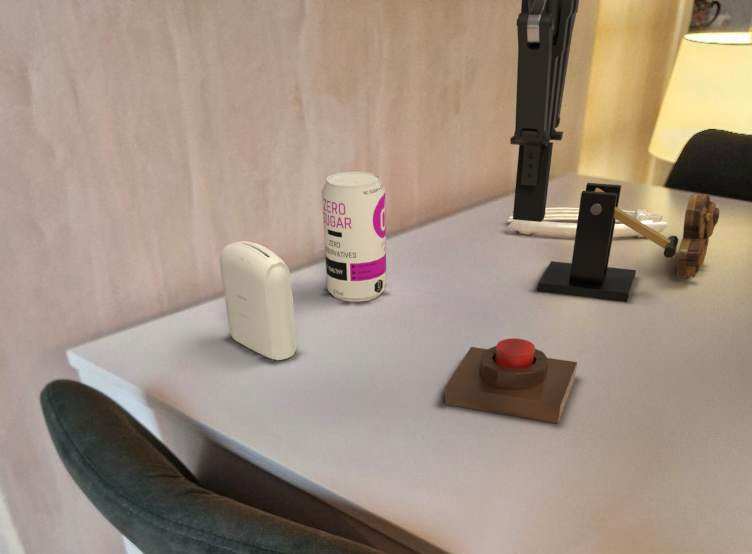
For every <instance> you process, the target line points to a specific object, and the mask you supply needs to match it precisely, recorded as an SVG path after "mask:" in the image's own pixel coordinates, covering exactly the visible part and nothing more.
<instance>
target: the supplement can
mask: <svg viewBox="0 0 752 554" xmlns="http://www.w3.org/2000/svg"><path fill="white" fill-rule="evenodd" d="M321 202H322V217H323V218H322V219H323V232H324V233H323V237H324V253H325V254H324V255H325V256H324V257H325V272H326V287H327V288H326V289H327V291H328V292H329V294H331V295H332V296H333V297H334V298H335V299H337V300H340V301H345V302H349V303H350V302H352V303H353V302H358V303H359V302H367V301H370V300H374V299H377V298H378V297H380V296H381V294H382V293H383V292H385V290H386V288H387V220H386V218H387V217H386V216H387V215H386V213H387V212H386V209H387V208H386V202H387V201H386V189H385V187H384V185H383V184H382V181H381V177H380V175H378V174H376V173H372V172H366V171H346V172H345V171H344V172H339V173H334V174H331V175H329V176H327V177H326V178H325V183H324V186H323V188H322V190H321Z"/></svg>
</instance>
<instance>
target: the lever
mask: <svg viewBox="0 0 752 554" xmlns="http://www.w3.org/2000/svg"><path fill="white" fill-rule="evenodd" d="M594 192H604V191H602V190H601V189H599V188H596V189H595V191H594ZM622 210H623V209H620V208H619V207H618V208H617V207H615V212H614V218H615V219H616V220H618V221H620V222H619V223H620V224H625V225H626V226H628V227H630V228H631V229H633V230H634V231H636V232H638V233H639V234H641V235H643V236H644V237H643V238H646V239H647V240H649V241H651V242H653V243H655V244H656V245H658V246H659V247H661V248H663V256H664V257H665V258H667V259H672V258H674V257H675V256H676V252H677V248H678V245H679V238H678V236H676V235H673V234H672V235H669V236H668V237H667V236H665V235H663V234H661V233H658V232H656V231H655V230H653V229H651V228H650V227H648V226H646V225H645V224H643V223H641V222H640V221H638V220H637V219H635V218H633V217H632V216H630V215H628V214H627V213H625V212H623V211H622Z"/></svg>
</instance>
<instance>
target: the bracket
mask: <svg viewBox="0 0 752 554" xmlns="http://www.w3.org/2000/svg"><path fill="white" fill-rule="evenodd" d="M585 185H586V186H585V190H582V191H581V193H580V200H579V206H578V208H579V214H578V220H576V223H577V228H576V235H575V236H574V244H573V251H572V257H571V262H564V261H554V260H551V261H550V263H549V264H548V266H547V267H546V269H545V271H544V272H543V274H542V276H541V278H540V280H539V282H538V285H537V292H544V293H551V294H558V295H559V294H560V295H567V296H568V295H569V296H576V297H585V298H592V299H593V298H594V299H602V300H610V301H617V302H628V301H629V297H630V294H631V292H632V289H633V285H634V282H635V279H636V275H637V269H629V268H621V267H620V268H619V267H610V266H609V261H610V255H611V249H612V243H613V238H614V237H613V232H614V226H615V224H616V222H615V221H616V219H615V218H614V212H615V207H617V208H618V209H619V202H620V197H621V190H622V185H621V184H612V183H611V184H609V183H598V182H597V183H596V182H586V184H585ZM596 188H599V189H601V190H602V191H604V192H594V191H595V189H596Z"/></svg>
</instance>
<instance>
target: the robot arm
mask: <svg viewBox="0 0 752 554" xmlns="http://www.w3.org/2000/svg"><path fill="white" fill-rule="evenodd" d="M579 4H580V0H521V6H520V7H521V8H520V12H519V14H518V16H517V18H516V27H517V29H516V30H517V70H516V71H517V73H516V76H517V77H516V96H515V97H516V98H515V99H516V102H515V123H514V124H515V126H514V134H513V136H511V137H510V140H509V141H510V145H512V146H513V145H514V146H515V145H517V146H518V157H517V166H516V175H515V176H516V177H515V189H514V198H513V199H514V200H513V210H512V212H513V220H524V221H535V222H542V221H544V220H543V219H544V217H545V209H546V208H547V199H548V191H549V182H550V174H551V165H552V155H553V147H554V142H552V141H560V142H561V141H562V140H563V135H564V131H557V130H556V129H558V127H559V125H560V123H561V110H562V103H563V98H564V97H563V96H564V90H565V84H566V78H567V71H568V64H569V58H570V50H571V45H572V37H573V32H574V26H575V21H576V18H577V17H576V16H577V14H578V12H579Z"/></svg>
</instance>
